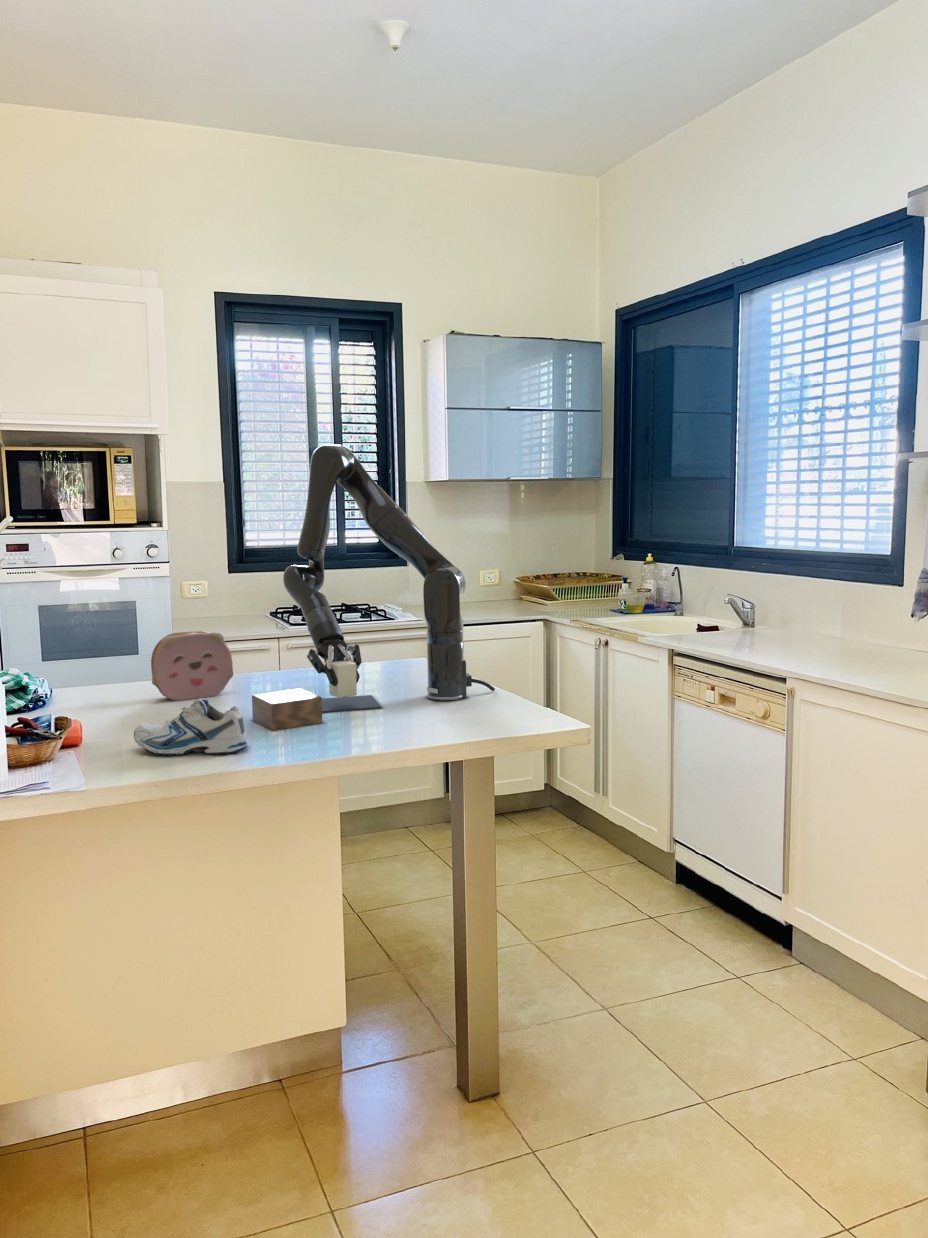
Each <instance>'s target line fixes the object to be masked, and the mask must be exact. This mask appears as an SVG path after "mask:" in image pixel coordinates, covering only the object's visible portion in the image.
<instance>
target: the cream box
mask: <svg viewBox="0 0 928 1238" xmlns="http://www.w3.org/2000/svg"><path fill="white" fill-rule="evenodd" d="M331 664H332V669H333V670H334V672H335V674H336V677H337V679H338V683H337V685H336V686H333V685H332V684H330V682H329V681H328V686H329V688H328V689H329V695H330V696H333V697H334V698H336V697H338V698H341V697H351V696H358V694H357V693H358V691H357V690H358V689H357V684H358V683H356V663H353V662H350V661H338V662H332V663H331Z"/></svg>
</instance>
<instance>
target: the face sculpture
mask: <svg viewBox="0 0 928 1238" xmlns="http://www.w3.org/2000/svg"><path fill="white" fill-rule="evenodd" d="M232 656H233V655H232V651H231V649H230V648H229V646H228V645H227V643H226V641H225V637H224V635H223V634H222V633H220V632H215V631H214V632H208V631H204V630H190V631H181V632H180V631H179V632H172V633H169V634H167V635H165V636H164V637H162V638H161V639H160V640H159V641H158V642H157V643H156V644H155V646H154V648H153V650H152V653H151V660H150V671H151V684H152V685H153V686H155V687H156V689H157V690H158V691H159V693H160V694H161V696H163V697H165V698H167V699H169V700H171V701H173V702H174V701H176V702H177V701H183V700H193V699H195V700H196V699H204V698H209V697H216V696H218V695H219V694H220V693H221V692H223V691H224V690H225V689H226V686H227V685H228V683H230V680H231V679H232V678H233V677H234V665H233V657H232Z"/></svg>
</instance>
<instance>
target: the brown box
mask: <svg viewBox="0 0 928 1238" xmlns="http://www.w3.org/2000/svg"><path fill="white" fill-rule="evenodd" d="M322 698H323V697H322V696H320V695H317V694H315V693H312V692H311V691H308V690H305V689H304V688H301V687H299V688H293V689H292V688H291V689H285V690H277V691H276V690H275V691H270V692H262V693H261V692H260V693H255V694H251V711H252V721H254V722H256V723H258V724H259V725H261V726H263V727H265V728H267V729H269V730H271V731H273V732H274V731H280V730H286V729H292V728H298V727H305V726H312V725H317V724H323V713H322Z"/></svg>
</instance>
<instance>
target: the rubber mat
mask: <svg viewBox="0 0 928 1238" xmlns="http://www.w3.org/2000/svg"><path fill="white" fill-rule="evenodd" d="M378 709H382V706H381V704H380V703H379V702H378V701H377V700H376V698H374V696H373V695H372V694H365V695H355V696H348V697H341V698H338V697H325V698H324V697H322V714H323V713H338V712H351V711H365V710H378Z"/></svg>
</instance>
